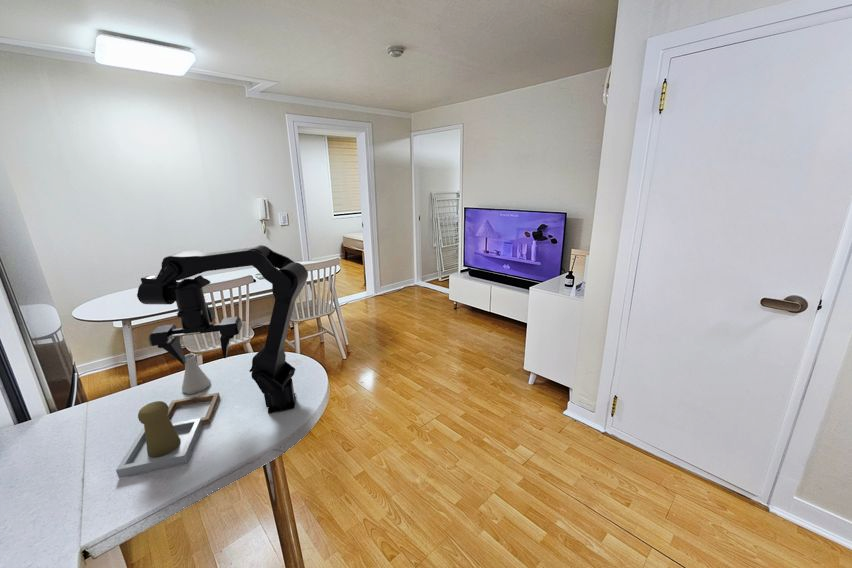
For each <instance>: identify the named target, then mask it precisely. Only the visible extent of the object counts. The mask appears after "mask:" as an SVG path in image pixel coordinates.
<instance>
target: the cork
mask: <svg viewBox="0 0 852 568" xmlns="http://www.w3.org/2000/svg"><path fill="white" fill-rule="evenodd" d="M168 407H169V405H168V404H167V403H166V402H164V401H162V400H160V401H159V400H157V401H152V402H149V403H148V404H146V405H143V406H142V407H141V408H140V409H139V410H138V414H137V418H138V421H139V423H141V425H143V429H145V437H146V445H147V453H148V456H149V457H152V458H157V457H162V456H165V455H167V454H169V453H171V452H173V451H174V450H175V449H176V448H177V447H178V446H179V445H180V443H181V440H180V438H179V436H178V434H177V432H176V430H175V428H174V426H173V425H172V421H171V418H170V419H169V417H168V412H169V408H168Z"/></svg>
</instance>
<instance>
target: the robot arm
mask: <svg viewBox="0 0 852 568" xmlns="http://www.w3.org/2000/svg"><path fill="white" fill-rule="evenodd" d="M250 266H251V267H253V268H255V269H256V270H257V271H258V272H259V274H260V275H261V276H262V277H263V279H265V280H266V281H268V282H269V283H270V284H271V285H272V286H271V287H272V288H271V289H272V290H271V292H272V296H273V297H274V302H273V303H274V304H273V307H272V312H271V316H270V317H271V318H270V321H269V326H268V329H267V334H266V339H265V343H264V345H263V347H262V348H260V350H259V351H258V352H257V353H256V354H255V355H254V356H253V357H252V360H251V368H250V369H249V372H250V373H251V379H252V380H254V382H255V383H256V385H257V387H258V389H259V390H260V391H261V393H262V394H263V396H264V403H265V407H266V408H267V413H268V414H273V413H279V412H282V411H283V412H284V411H288V410H293V409H295V408H296V397H295V395H297V394H296V392H295V389H294V382H293V376H294V375H295V373H296V368H295V367H294V366H292V364H290V363H288V362H287V360H286V356H287V355H286V352H285V350H284V349H285V343H286V338H287V337H288V336H287V335H288V331H289V328H290V323H291V319H292V314H293V311H294V307H295V303H296V300H297V298H298V297H299V295H300V293H301V292H302V290H303V288H304V286H305V284H306V282H307V280H308V277H309V272H308V270H307V269H306V267H305V266H304V265H303V264H302V263H299V262H295V261H294V260H292V259H291V258H289V257H288V256H285V255H284V254H281V253H279V252H276V251H274V250H272V249H271V248H269V247H268V246H266V245H262V244H261V245H260V244H259V245H257V246H253V247H246V248H236V249H229V250H222V251H221V250H220V251H215V252H205V251H201V250H192V249H191V250H190V249H189V250H188V249H187V250H183V251H180V252H176V253H173V254H171V255H168V256H165V257H164V258H162V262H161V268H160V270H159V272H158V274H157V276H155V275H146V276H143V277H141V278H140V281H141V283H140V285H139V286H138V287H137V293H136V297H137V299H138V301H139V302H140V303H141V304H142V305H172V304H174V303H176V307H177V313H176V315H177V318H180V323H181V326H182V327H179V328H177V325H176V324H174V323H173V324H165V325H158V326H156V328H155V329H153V330H152V332H151V333H150V334H149V335H148V342H149V345H150V346H151V347H155V346H156V347H157V348H158V349H164V350H165V351H166V352H168V353H169V354H170V355H171V356H173V357H174V358H175V359H176V360H177V361H178V362H180V364H182V365H184V366H185V363H186V360H185V355H186V354H185V353H184V350H183V347H182V344H181V338H180V337H185V336H191V335H192V336H193V335H199V334H200V335H201V334H206V333H209V334H210V333H215V332H219V335H221V336H220V338H219V341H220V347H221V348H220V349H221V352H222V356H223V358H224V359H226V358H227V357H228V350H229V345H230V341H231V339H234V338H235V336H236V335H239V334H240V332H241V330H242V327H243V322H242V321H243V320H242V319H241V318H240V316H232V317H224V318H222V320H221V322H219V323H213V322H214V319H216V311H215V306H209V304H208V302H207V301H206V297H205V294H204V290H203V288H204V287H206V286H208V285H210V284H211V283H212V282H211V281H210V280H209V279H208V278H205V277H204V276H203V275H200V274H202V273H205V272H210V271H218V270H225V269H234V268H235V269H236V268H243V267H250ZM197 275H198V276H197ZM194 276H195V277H194ZM191 277H194V278H191Z"/></svg>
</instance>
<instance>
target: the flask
mask: <svg viewBox="0 0 852 568" xmlns="http://www.w3.org/2000/svg"><path fill="white" fill-rule="evenodd" d="M184 355H185V360H186V363H185V364H184V366H185V367H184V375H183V380H182V387H181V392H182V393H184V394H187V395H193V394H195V393H199V392H202V391H204V390H206V389H207V388H208V387H210V386H211V385H212V382H211V379H210V378H209V377H208V376H207V374H206V373H205V372H204V371H203V370H202V369H201V367H200V366H199V364H198V363H197V360H196V354H195V353H192V352H191V353H188V354H184Z"/></svg>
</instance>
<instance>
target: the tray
mask: <svg viewBox="0 0 852 568" xmlns="http://www.w3.org/2000/svg"><path fill="white" fill-rule="evenodd" d="M201 418H202V417H200V418H193V419H189V420H183V421H177V422H173V423H172V422H171V423H172V425H173V426H174V428H175V430H176V432H177V434H178V436H179V438H180V440H181V443H180V445H179V446H178V447H177V448H176V449H175V450H174V451H173V452H171V453H169V454H167V455H165V456H162V457H157V458H152V457H149V456H148V453H147V445H146V437H145V429H144V428H141V430H140V431H139V433H138V434H137V436H136V437H135V439H134V440H133V442H132V444H131V445H130V446H129V449H128V450H127V451H126V453H125V455H124V456H123V458H122V459H121V461H120V463H118V464H119V465H118V466H117V467H116V468H115V472H116V474H117V477H118V479H123V478H127V477H128V478H129V477H131V476H135V475H140V474H146V473H150V472H154V471H159V470H164V469H168V468H172V467H177V466H182V465H185V464H188V462H189V460H190V457H191V455H192V452H193V450H194V447H195V445H196V442H197V440H198V438H199V436H200V433H201V430H202V429H203V426H204V425H203V424H202V421H201Z"/></svg>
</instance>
